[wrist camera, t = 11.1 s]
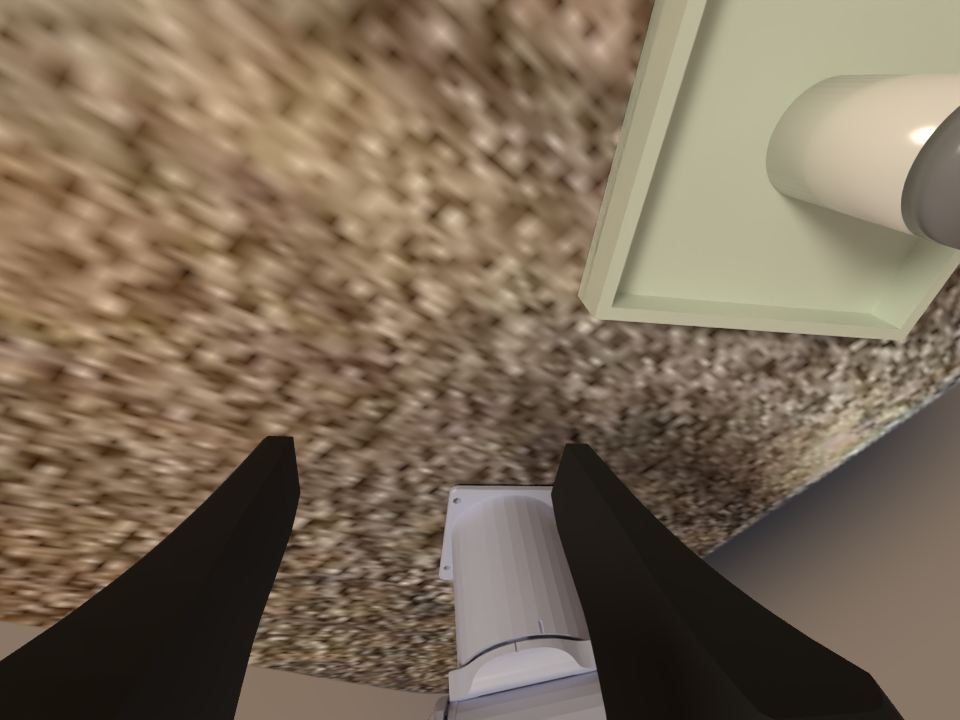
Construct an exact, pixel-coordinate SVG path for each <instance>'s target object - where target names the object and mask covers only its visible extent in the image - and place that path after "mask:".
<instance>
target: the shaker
mask: <svg viewBox="0 0 960 720" xmlns="http://www.w3.org/2000/svg"><path fill="white" fill-rule="evenodd" d="M766 170H767V175H768V178H769V180H770V182H771V184H772V186H773V187H774V188H775V189H776V190H777V191H779V192H780V193H782V194H784V195H786V196H789V197H792V198H796V199H799V200H802V201H805V202H808V203H812V204H815V205H818V206H821V207H824V208H827V209H831V210H834V211H837V212H840V213H843V214H847V215H850V216H853V217H856V218H859V219H862V220H866V221H869V222H872V223H875V224H878V225H882V226H885V227H888V228H891V229H894V230H897V231H901V232H904V233H907V234H910V235H913V236H917V237H920V238H923V239H926V240H929V241H933V242H936V243H939V244H942V245H945V246H948V247H952V248H955V249H959V250H960V73H947V74H877V75H838V76H833V77H830V78H827V79H824V80H822V81H820V82H818V83H816V84H814V85H813V86H811V87H810V88H808V89H807V90H806V91H804V92H803V93H802V94H801V95H800V96H799V97H797V98H796V99H795V100H794V101H793V102H792V104H791V105H790V106H789V107H788V108H787V110H786V111H785V112H784V113H783V115H782V116H781V118H780V120H779V121H778V123H777V125H776V127H775V129H774V131H773V133H772V135H771V138H770V141H769V144H768V148H767V153H766Z"/></svg>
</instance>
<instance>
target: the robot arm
mask: <svg viewBox="0 0 960 720" xmlns="http://www.w3.org/2000/svg"><path fill="white" fill-rule="evenodd" d="M299 497H300V486H299V478H298V471H297V463H296V455H295V448H294V440H293V437H285V436H267V437H266V438H265V439H263V440H262V441H261V443H260V444H259V445H258V446H257V447H256V448H255V449H254V450H253V451H252V453H251V454H250V455H249V456H248V457H247V458H246V459H245V460H244V461H243V462H242V463H241V465H240V466H239V467H238V468H237V469H236V470H235V471H234V472H233V473H232V474H231V475H230V476H229V477H228V478H227V479H226V480H225V481H224V482H223V483H222V484H221V485H220V486H219V487H218V488H217V489H216V491H215V492H214V493H213V494H212V495H211V496H210V497H209V498H208V499H207V500H206V501H205V502H204V503H203V504H202V505H201V506H200V507H198V508H197V509H196V510H195V511H194V512H193V513H192V514H191V515H190V516H189V517H188V518H187V519H186V520H185V521H183V522H182V523H181V524H180V525H179V526H178V527H177V528H176V529H175V530H174V531H173V532H172V533H170V534H169V535H168V536H167V537H166V538H165V539H164V540H163V541H162V542H160V543H159V544H158V545H157V546H156V547H155V548H153V549H152V550H151V551H150V552H149V553H148V554H146V555H145V556H144V557H143V558H142V559H140V560H139V561H138V562H137V563H135V564H134V565H133V566H132V567H131V568H129V569H128V570H127V571H126V572H124V573H123V574H122V575H121V576H119V577H118V578H117V579H116V580H114V581H113V582H112V583H110V584H109V585H108V586H106V587H105V588H104V589H102V590H101V591H100V592H98V593H97V594H96V595H94V596H93V597H92V598H90V599H89V600H88V601H87V602H85V603H84V604H83V605H81V606H80V607H78V608H77V609H76V610H74V611H73V612H72V613H70V614H69V615H67V616H66V617H65V618H63V619H62V620H60V621H59V622H58V623H56V624H55V625H53V626H52V627H50V628H49V629H47V630H46V631H44V632H43V633H42V634H40V635H38V636H37V637H35V638H34V639H33V640H31V641H29V642H28V643H27V644H25V645H24V646H22V647H21V648H19V649H18V650H16V651H15V652H13V653H12V654H10V655H9V656H7V657H6V658H4V659H3V660H1V661H0V720H234V716H235V712H236V707H237V704H238V700H239V696H240V692H241V687H242V683H243V680H244V676H245V672H246V668H247V664H248V660H249V657H250V653H251V649H252V645H253V641H254V638H255V635H256V632H257V629H258V625H259V622H260V619H261V616H262V614H263V611H264V608H265V605H266V602H267V600H268V597H269V594H270V591H271V588H272V586H273V583H274V580H275V577H276V574H277V572H278V569H279V566H280V563H281V560H282V557H283V555H284V552H285V549H286V546H287V543H288V540H289V537H290V535H291V532H292V527H293V523H294V519H295V515H296V510H297V506H298V501H299ZM455 498H458V499H455ZM439 577H440V578H441V579H443V580H453V583H454V602H455V621H456V641H457V660H458V669H457V670H453V671H450V672H449V695H448V696H443V697H441V698H439V699H438V701H437V702H436V704H435V707H434V709H433V712H432V714H431V715H430V717H429V719H428V720H904V719H903V717H902V716H901V715H900V713H899V712H898V711H897V709H896V708H895V707H894V705H893V704H892V703H891V701H890V700H889V699H888V697H887V696H886V695H885V693H884V692H883V691H882V689H881V688H880V686H879V685H878V684H877V683H876V681H875V680H874V679H873V677H872V676H871V675H870V674H869V673H868V672H866V671H864V670H862V669H861V668H859V667H858V666H856V665H854V664H853V663H851V662H849V661H847V660H846V659H844V658H843V657H841V656H839V655H838V654H836V653H834V652H833V651H831V650H829V649H828V648H826V647H824V646H823V645H821V644H819V643H818V642H816V641H814V640H812V639H811V638H810V637H808V636H806V635H805V634H803V633H802V632H800V631H799V630H797V629H796V628H794V627H793V626H791V625H790V624H788V623H786V622H785V621H784V620H782V619H781V618H779V617H778V616H776V615H775V614H773V613H772V612H770V611H769V610H768V609H766V608H764V607H763V606H762V605H760V604H759V603H757V602H756V601H755V600H753V599H752V598H751V597H749V596H748V595H747V594H745V593H744V592H743V591H741V590H740V589H739V588H737V587H736V586H735V585H733V584H732V583H731V582H729V581H728V580H727V579H725V578H724V577H723V576H722V575H720V574H719V573H718V572H716V571H715V570H714V569H713V568H711V567H710V566H709V565H708V564H707V563H706V562H704V561H703V560H702V559H701V558H700V557H698V556H697V555H696V554H695V553H694V552H693V551H691V550H690V549H689V548H688V547H687V546H686V545H684V544H683V543H682V542H681V541H680V540H679V539H678V538H677V537H676V536H674V535H673V534H672V533H671V532H670V531H669V530H668V529H667V528H666V527H665V526H664V525H663V524H662V523H661V522H660V521H659V520H658V519H657V518H656V517H655V516H654V515H653V514H652V513H651V512H650V511H649V510H648V509H647V508H646V507H645V506H644V505H643V504H642V503H641V502H640V501H639V500H638V499H637V498H636V497H635V496H634V495H633V494H632V493H631V492H630V491H629V489H628V488H627V487H626V486H625V485H624V484H623V483H622V482H621V481H620V480H619V479H618V477H617V476H616V475H615V474H614V473H613V472H612V471H611V470H610V469H609V467H608V466H607V465H606V464H605V463H604V462H603V461H602V460H601V458H600V457H599V456H598V455H597V454H596V453H595V452H594V451H593V450H592V448H591V447H590V446H589V445H588V444H571V443H566V446H565V449H564V453H563V456H562V459H561V462H560V466H559V469H558V472H557V475H556V479H555V482H554V485H553V486H460V485H458V486H454V487H452V488H451V489H450V492H449V500H448V508H447V515H446V523H445V531H444V538H443V546H442V554H441V561H440V569H439Z"/></svg>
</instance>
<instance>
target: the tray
mask: <svg viewBox="0 0 960 720" xmlns="http://www.w3.org/2000/svg"><path fill="white" fill-rule="evenodd" d="M947 73H960V0H655V4H654V7H653V11H652V15H651V19H650V23H649V26H648V30H647V34H646V38H645V42H644V45H643V49H642V53H641V57H640V61H639V64H638V68H637V72H636V76H635V80H634V83H633V87H632V91H631V95H630V99H629V102H628V106H627V110H626V114H625V118H624V121H623V125H622V129H621V133H620V137H619V140H618V144H617V148H616V152H615V156H614V159H613V163H612V167H611V171H610V175H609V178H608V182H607V186H606V190H605V194H604V197H603V201H602V205H601V209H600V213H599V216H598V220H597V224H596V228H595V232H594V235H593V239H592V243H591V247H590V251H589V254H588V258H587V262H586V266H585V270H584V273H583V277H582V281H581V285H580V289H579V292H578V297H579V298H580V299H581V301H582V302H583V304H584V305H585V306H586V308H587V309H588V311H589V312H590V313H591V315H592V316H593V318H594V319H603V320H617V321H631V322H645V323H659V324H673V325H687V326H702V327H716V328H730V329H744V330H758V331H772V332H786V333H800V334H814V335H828V336H842V337H857V338H871V339H885V340H899V341H903V340H904V339H905V337H906V336H907V335H908V333H909V332H910V331H911V329H912V328H913V326H914V325H915V324H916V322H917V321H918V320H919V318H920V317H921V315H922V314H923V313H924V311H925V310H926V309H927V307H928V306H929V304H930V303H931V302H932V300H933V299H934V298H935V296H936V295H937V293H938V292H939V291H940V289H941V288H942V287H943V285H944V284H945V282H946V281H947V280H948V278H949V277H950V276H951V274H952V273H953V271H954V270H955V269H956V267H957V266H958V265H959V263H960V250H959V249H955V248H952V247H948V246H945V245H942V244H939V243H936V242H933V241H929V240H926V239H923V238H920V237H917V236H913V235H910V234H907V233H904V232H901V231H897V230H894V229H891V228H888V227H885V226H882V225H878V224H875V223H872V222H869V221H866V220H862V219H859V218H856V217H853V216H850V215H847V214H843V213H840V212H837V211H834V210H831V209H827V208H824V207H821V206H818V205H815V204H812V203H808V202H805V201H802V200H799V199H796V198H792V197H789V196H786V195H784V194H782V193H780V192H779V191H777V190H776V189H775V188H774V187H773V186H772V184H771V182H770V180H769V178H768V175H767V170H766V153H767V148H768V144H769V141H770V138H771V135H772V133H773V131H774V129H775V127H776V125H777V123H778V121H779V120H780V118H781V116H782V115H783V113H784V112H785V111H786V110H787V108H788V107H789V106H790V105H791V104H792V102H793V101H794V100H795V99H796V98H797V97H799V96H800V95H801V94H802V93H803V92H804V91H806V90H807V89H808V88H810V87H811V86H813V85H814V84H816V83H818V82H820V81H822V80H824V79H827V78H830V77H833V76H838V75H877V74H947Z"/></svg>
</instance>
